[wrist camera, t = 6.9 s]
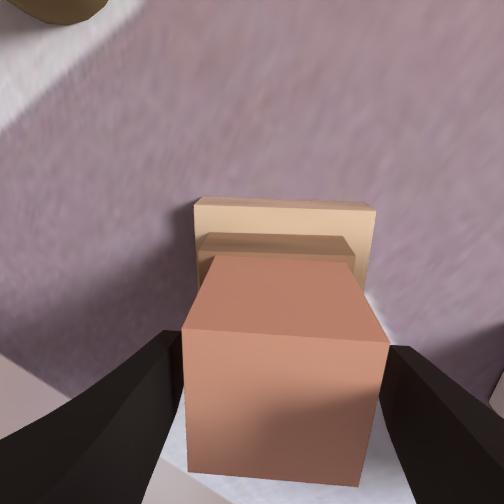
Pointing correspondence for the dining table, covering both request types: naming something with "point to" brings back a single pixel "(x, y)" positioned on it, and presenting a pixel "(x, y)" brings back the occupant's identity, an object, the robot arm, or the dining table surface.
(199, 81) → the dining table surface
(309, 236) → the walnut top slab
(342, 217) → the birch base slab
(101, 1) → the olive game pawn
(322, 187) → the dining table surface
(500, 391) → the small box
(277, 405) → the terracotta cube
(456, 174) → the dining table surface
